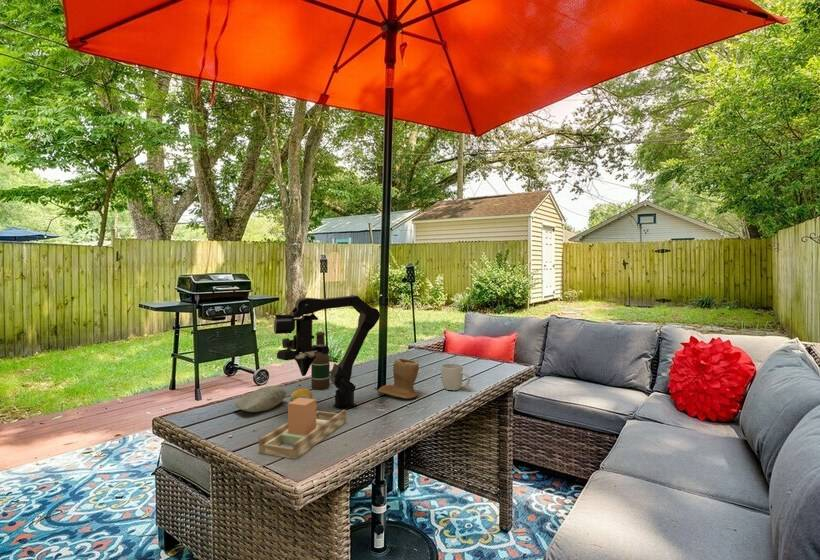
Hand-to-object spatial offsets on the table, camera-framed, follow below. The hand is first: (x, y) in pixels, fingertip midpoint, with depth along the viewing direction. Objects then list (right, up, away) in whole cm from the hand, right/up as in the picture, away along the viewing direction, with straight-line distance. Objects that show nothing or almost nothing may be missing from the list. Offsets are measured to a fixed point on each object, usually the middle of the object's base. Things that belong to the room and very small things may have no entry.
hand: (303, 375), depth 157 cm
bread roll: (-5, -13, +16) cm, 21 cm away
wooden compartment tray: (+6, -14, -22) cm, 26 cm away
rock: (-16, -13, +4) cm, 21 cm away
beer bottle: (0, -12, +31) cm, 34 cm away
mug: (+58, -12, +29) cm, 66 cm away
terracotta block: (+5, -12, -24) cm, 27 cm away
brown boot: (+35, -13, +20) cm, 42 cm away
